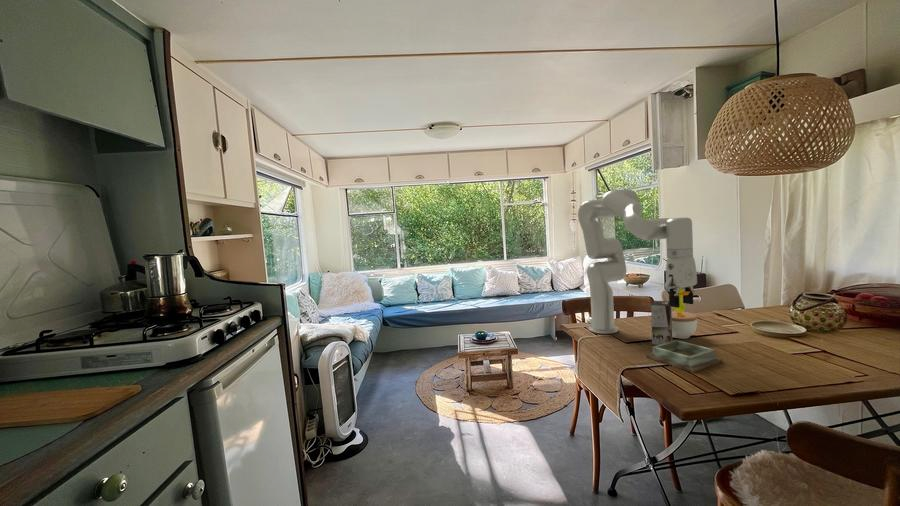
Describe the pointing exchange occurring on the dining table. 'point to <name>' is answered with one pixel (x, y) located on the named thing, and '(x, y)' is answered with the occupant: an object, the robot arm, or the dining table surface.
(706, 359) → the tray
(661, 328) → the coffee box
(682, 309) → the toy figure
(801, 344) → the dining table surface
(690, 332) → the lidded bowl
